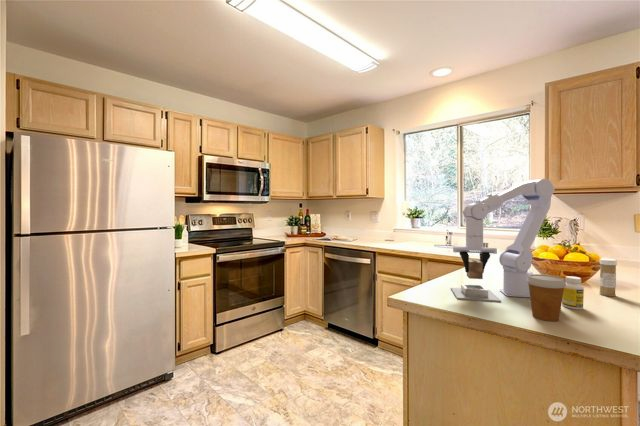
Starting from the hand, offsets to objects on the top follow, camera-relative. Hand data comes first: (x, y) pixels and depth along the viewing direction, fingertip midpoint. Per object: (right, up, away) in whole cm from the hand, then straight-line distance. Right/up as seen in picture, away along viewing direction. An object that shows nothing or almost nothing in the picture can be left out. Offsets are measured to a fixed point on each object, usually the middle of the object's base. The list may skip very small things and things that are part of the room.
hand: (474, 272), depth 114 cm
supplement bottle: (+25, -9, -14) cm, 30 cm away
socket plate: (0, -9, 0) cm, 9 cm away
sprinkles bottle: (+49, -9, 0) cm, 50 cm away
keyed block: (0, -2, 0) cm, 2 cm away
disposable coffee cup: (+10, -9, -23) cm, 27 cm away
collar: (0, -9, 0) cm, 9 cm away
